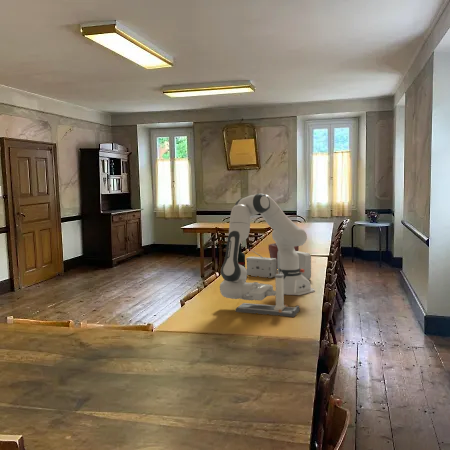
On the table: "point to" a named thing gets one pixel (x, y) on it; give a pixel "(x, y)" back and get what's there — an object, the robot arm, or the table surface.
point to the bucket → (274, 250)
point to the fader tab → (279, 292)
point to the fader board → (267, 309)
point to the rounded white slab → (301, 263)
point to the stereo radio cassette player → (261, 266)
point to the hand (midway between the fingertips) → (276, 293)
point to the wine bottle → (241, 257)
